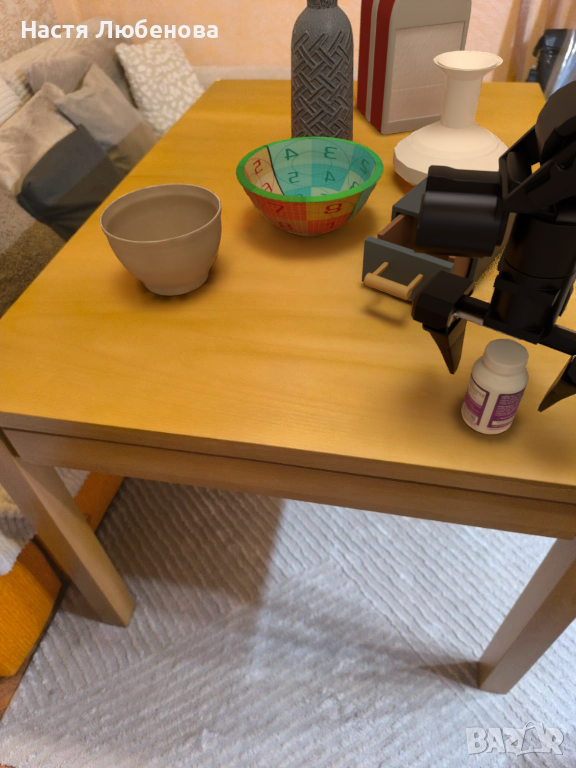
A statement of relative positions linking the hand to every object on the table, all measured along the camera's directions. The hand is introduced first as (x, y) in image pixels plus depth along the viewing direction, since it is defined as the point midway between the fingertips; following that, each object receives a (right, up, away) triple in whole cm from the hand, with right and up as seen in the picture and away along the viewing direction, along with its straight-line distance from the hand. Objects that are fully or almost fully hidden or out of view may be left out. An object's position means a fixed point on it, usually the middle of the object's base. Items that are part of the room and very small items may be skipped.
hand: (495, 389), depth 54 cm
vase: (-14, +47, +52) cm, 71 cm away
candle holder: (+8, +37, +42) cm, 56 cm away
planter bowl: (-38, +16, +24) cm, 48 cm away
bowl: (-18, +27, +33) cm, 46 cm away
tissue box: (+4, +61, +64) cm, 88 cm away
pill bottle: (0, -3, +3) cm, 5 cm away
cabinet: (+3, +21, +26) cm, 33 cm away
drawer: (-4, +15, +19) cm, 24 cm away
